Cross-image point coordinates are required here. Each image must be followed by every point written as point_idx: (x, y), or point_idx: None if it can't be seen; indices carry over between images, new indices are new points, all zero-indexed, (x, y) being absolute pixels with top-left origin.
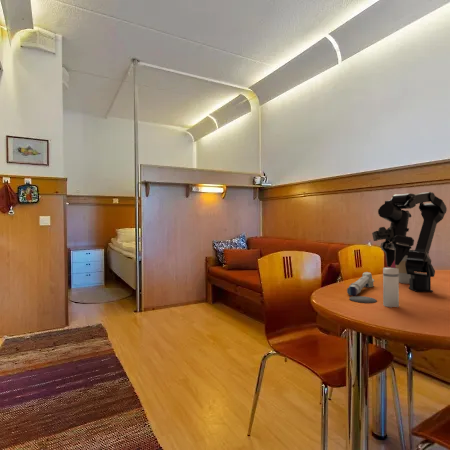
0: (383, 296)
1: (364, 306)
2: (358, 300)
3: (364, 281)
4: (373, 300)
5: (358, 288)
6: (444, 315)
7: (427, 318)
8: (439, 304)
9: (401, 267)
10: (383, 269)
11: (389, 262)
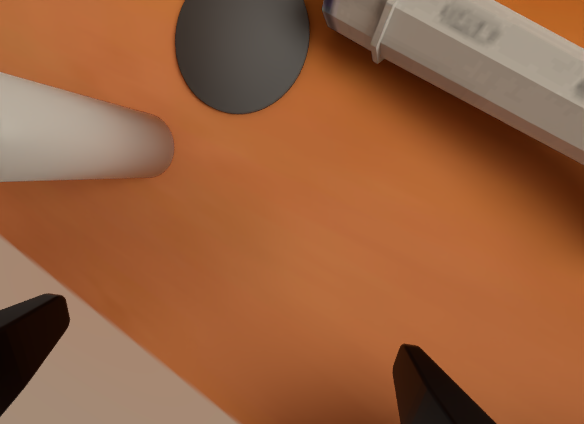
0: (112, 103)
1: (122, 13)
2: (206, 4)
3: (552, 127)
4: (212, 90)
5: (355, 26)
6: (53, 275)
7: (15, 198)
8: (187, 362)
9: None
10: None
11: (421, 419)
